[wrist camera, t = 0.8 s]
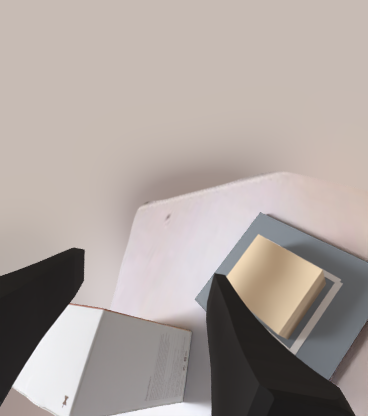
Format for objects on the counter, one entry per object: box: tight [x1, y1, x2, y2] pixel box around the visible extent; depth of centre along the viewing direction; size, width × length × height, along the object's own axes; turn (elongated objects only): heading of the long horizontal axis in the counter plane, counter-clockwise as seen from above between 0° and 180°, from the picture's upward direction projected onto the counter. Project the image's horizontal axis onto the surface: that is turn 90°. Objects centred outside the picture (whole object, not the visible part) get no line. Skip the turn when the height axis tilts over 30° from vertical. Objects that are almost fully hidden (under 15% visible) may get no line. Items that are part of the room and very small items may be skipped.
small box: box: [12, 303, 192, 416], centre depth 21 cm, size 8×6×13 cm
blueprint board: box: [195, 212, 368, 380], centre depth 22 cm, size 13×13×1 cm
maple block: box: [227, 234, 326, 340], centre depth 20 cm, size 6×6×4 cm
